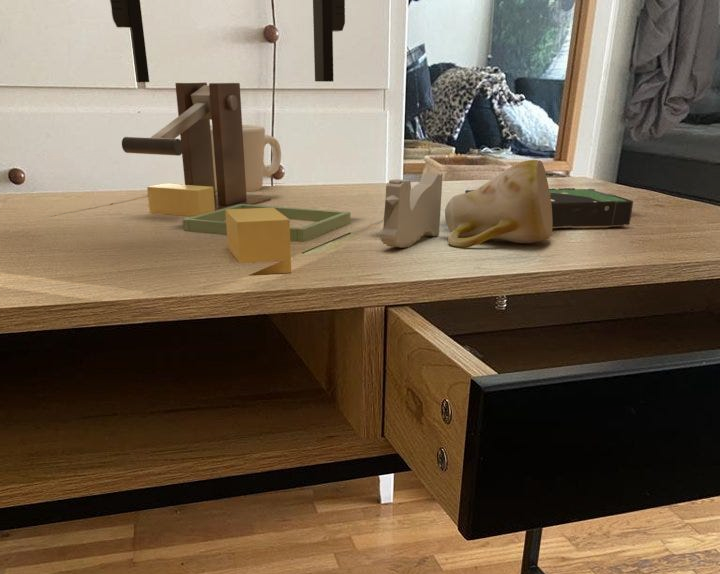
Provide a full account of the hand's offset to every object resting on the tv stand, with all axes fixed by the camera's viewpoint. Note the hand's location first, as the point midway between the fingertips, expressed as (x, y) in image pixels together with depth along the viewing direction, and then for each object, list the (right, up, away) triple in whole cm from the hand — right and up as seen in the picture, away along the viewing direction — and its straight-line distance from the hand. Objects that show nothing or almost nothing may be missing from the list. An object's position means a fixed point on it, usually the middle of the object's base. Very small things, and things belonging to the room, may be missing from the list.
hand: (236, 82), depth 57 cm
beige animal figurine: (+14, -8, +13) cm, 21 cm away
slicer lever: (-8, +5, +20) cm, 22 cm away
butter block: (-9, -3, +22) cm, 24 cm away
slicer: (-7, 0, +27) cm, 28 cm away
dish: (+1, -7, +15) cm, 17 cm away
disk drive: (+29, -2, +24) cm, 38 cm away
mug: (+22, -8, +14) cm, 27 cm away
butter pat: (+1, -12, +4) cm, 13 cm away
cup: (-5, +6, +39) cm, 40 cm away
